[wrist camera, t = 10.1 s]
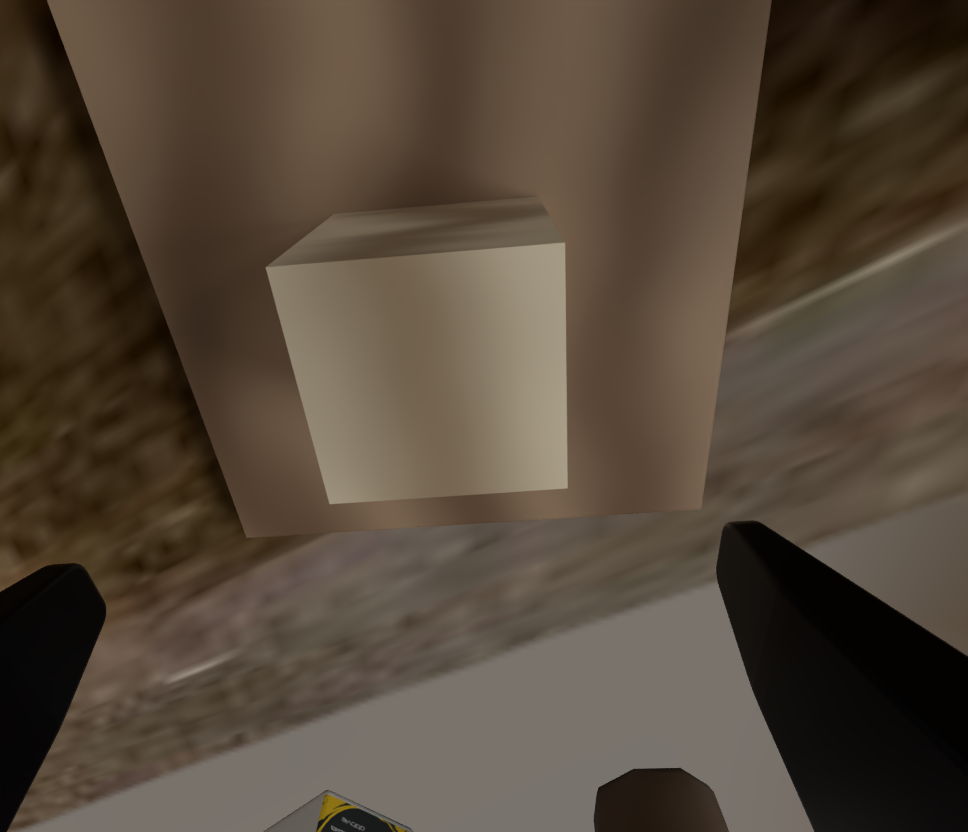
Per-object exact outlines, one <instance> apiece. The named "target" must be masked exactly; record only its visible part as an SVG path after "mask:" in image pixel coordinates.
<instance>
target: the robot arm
mask: <svg viewBox="0 0 968 832" xmlns="http://www.w3.org/2000/svg"><path fill="white" fill-rule="evenodd" d="M716 573H717V580H718V584H719V588H720V591H721V594H722V597H723V600H724V604H725V607H726V610H727V613H728V616H729V619H730V622H731V625H732V628H733V632H734V635H735V638H736V641H737V644H738V648H739V650H740V653H741V657H742V660H743V663H744V666H745V669H746V672H747V676H748V678H749V681H750V684H751V687H752V690H753V693H754V695H755V697H756V700H757V702H758V705H759V707H760V710H761V712H762V714H763V716H764V718H765V721H766V723H767V725H768V728H769V730H770V732H771V734H772V736H773V739H774V741H775V743H776V745H777V748H778V750H779V753H780V754H781V757H782V759H783V762H784V764H785V766H786V768H787V771H788V773H789V775H790V777H791V779H792V782H793V784H794V787H795V789H796V791H797V793H798V796H799V798H800V800H801V802H802V805H803V807H804V809H805V811H806V814H807V816H808V818H809V820H810V823H811V825H812V827H813V830H814V832H968V656H967V655H965V654H963V653H962V652H961V651H959V650H957V649H956V648H954V647H953V646H951V645H950V644H948V643H947V642H945V641H943V640H942V639H940V638H939V637H937V636H936V635H934V634H933V633H931V632H930V631H928V630H926V629H925V628H923V627H922V626H920V625H918V624H917V623H915V622H914V621H912V620H911V619H909V618H908V617H906V616H905V615H903V614H902V613H900V612H899V611H897V610H895V609H894V608H892V607H891V606H889V605H888V604H886V603H885V602H883V601H881V600H880V599H878V598H877V597H875V596H874V595H872V594H871V593H869V592H867V591H866V590H864V589H863V588H861V587H860V586H858V585H856V584H855V583H853V582H852V581H850V580H849V579H847V578H846V577H844V576H843V575H841V574H840V573H838V572H836V571H835V570H833V569H832V568H830V567H829V566H827V565H826V564H824V563H822V562H821V561H819V560H818V559H816V558H815V557H813V556H812V555H810V554H808V553H807V552H805V551H804V550H802V549H801V548H799V547H798V546H796V545H795V544H793V543H792V542H790V541H788V540H787V539H785V538H784V537H782V536H781V535H779V534H778V533H776V532H774V531H773V530H771V529H770V528H768V527H767V526H765V525H764V524H762V523H760V522H758V521H752V520H751V521H735V522H729V523H727V524H725V526H724V528H723V531H722V536H721V542H720V548H719V554H718V560H717V567H716ZM105 618H106V605H105V602H104V600H103V598H102V596H101V595H100V593H99V591H98V589H97V588H96V586H95V584H94V582H93V581H92V579H91V577H90V575H89V574H88V572H87V570H86V569H85V568H84V567H83V566H81V565H80V564H76V563H69V564H53V565H48V566H45V567H43V568H41V569H39V570H38V571H36V572H34V573H32V574H31V575H29V576H27V577H25V578H24V579H22V580H20V581H18V582H17V583H15V584H13V585H12V586H10V587H8V588H6V589H5V590H3V591H1V592H0V832H7V831H8V829H9V827H10V825H11V823H12V821H13V819H14V817H15V815H16V813H17V811H18V809H19V807H20V806H21V804H22V802H23V800H24V798H25V796H26V794H27V792H28V790H29V788H30V786H31V784H32V782H33V780H34V779H35V777H36V775H37V773H38V771H39V769H40V767H41V765H42V763H43V761H44V759H45V757H46V755H47V754H48V752H49V750H50V748H51V746H52V744H53V742H54V740H55V738H56V736H57V734H58V732H59V730H60V728H61V725H62V723H63V721H64V718H65V716H66V714H67V712H68V709H69V707H70V704H71V702H72V700H73V697H74V695H75V692H76V690H77V687H78V685H79V683H80V680H81V678H82V675H83V673H84V670H85V668H86V665H87V663H88V661H89V658H90V656H91V653H92V651H93V648H94V646H95V644H96V641H97V639H98V636H99V634H100V631H101V629H102V627H103V624H104V621H105Z"/></svg>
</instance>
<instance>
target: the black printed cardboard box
mask: <svg viewBox="0 0 968 832" xmlns="http://www.w3.org/2000/svg"><path fill="white" fill-rule="evenodd" d="M264 832H413V831H412V830H411V828H409V827H407V826H404V825H402V824H400V823H398V822H396V821H394V820H391V819H390V818H387V817H385V816H383V815H381V814H379V813H377V812H375V811H372V810H370V809H368V808H366V807H364V806H362V805H359V804H357V803H355V802H353V801H351V800H349V799H347V798H345V797H342V796H340V795H338V794H336V793H334V792H332V791H329V790H326V791H325V792H323V793H321V794H320V795H318V796H317V797H315V798H314V799H312V800H311V801H309V802H308V803H306V804H305V805H303V806H302V807H300V808H299V809H297V810H296V811H295V812H293V813H291V814H290V815H288V816H287V817H285V818H283V819H282V820H281V821H279V822H278V823H276V824H274V825H273V826H271V827H270V828H268V829H267V830H265V831H264Z"/></svg>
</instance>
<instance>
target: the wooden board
mask: <svg viewBox="0 0 968 832" xmlns="http://www.w3.org/2000/svg"><path fill="white" fill-rule="evenodd" d="M771 1H772V0H47V2H48V4H49V7H50V10H51V12H52V15H53V18H54V20H55V23H56V26H57V29H58V31H59V34H60V37H61V39H62V42H63V45H64V47H65V50H66V53H67V55H68V58H69V61H70V64H71V66H72V69H73V72H74V74H75V77H76V80H77V82H78V85H79V88H80V90H81V93H82V96H83V99H84V101H85V104H86V107H87V109H88V112H89V115H90V117H91V120H92V123H93V125H94V128H95V131H96V133H97V136H98V139H99V142H100V144H101V147H102V150H103V152H104V155H105V158H106V160H107V163H108V166H109V168H110V171H111V174H112V177H113V179H114V182H115V185H116V187H117V190H118V193H119V195H120V198H121V201H122V203H123V206H124V209H125V211H126V214H127V217H128V220H129V222H130V225H131V228H132V230H133V233H134V236H135V238H136V241H137V244H138V246H139V249H140V252H141V255H142V257H143V260H144V263H145V265H146V268H147V271H148V273H149V276H150V279H151V281H152V284H153V287H154V289H155V292H156V295H157V298H158V300H159V303H160V306H161V308H162V311H163V314H164V316H165V319H166V322H167V324H168V327H169V330H170V333H171V335H172V338H173V341H174V343H175V346H176V349H177V351H178V354H179V357H180V359H181V362H182V365H183V367H184V370H185V373H186V376H187V378H188V381H189V384H190V386H191V389H192V392H193V394H194V397H195V400H196V402H197V405H198V408H199V411H200V413H201V416H202V419H203V421H204V424H205V427H206V429H207V432H208V435H209V437H210V440H211V443H212V446H213V448H214V451H215V454H216V456H217V459H218V462H219V464H220V467H221V470H222V472H223V475H224V478H225V480H226V483H227V486H228V489H229V491H230V494H231V497H232V499H233V502H234V505H235V507H236V510H237V513H238V515H239V518H240V521H241V524H242V526H243V529H244V532H245V534H246V537H247V538H254V537H269V536H285V535H301V534H317V533H333V532H349V531H364V530H380V529H396V528H412V527H428V526H443V525H459V524H475V523H491V522H507V521H522V520H538V519H554V518H570V517H586V516H602V515H617V514H633V513H649V512H665V511H681V510H696V509H701V507H702V500H703V492H704V485H705V478H706V471H707V463H708V456H709V449H710V442H711V435H712V427H713V420H714V413H715V406H716V398H717V391H718V384H719V377H720V370H721V362H722V355H723V348H724V341H725V333H726V326H727V319H728V312H729V304H730V297H731V290H732V283H733V276H734V268H735V261H736V254H737V247H738V239H739V232H740V225H741V218H742V211H743V203H744V196H745V189H746V182H747V174H748V167H749V160H750V153H751V146H752V138H753V131H754V124H755V117H756V109H757V102H758V95H759V88H760V80H761V73H762V66H763V59H764V52H765V44H766V37H767V30H768V23H769V15H770V8H771ZM538 196H539V198H540V200H541V201H542V203H543V205H544V207H545V208H546V210H547V212H548V214H549V215H550V217H551V219H552V221H553V222H554V224H555V226H556V227H557V229H558V231H559V233H560V234H561V236H562V238H563V240H564V241H565V277H566V376H567V475H568V488H566V489H551V490H536V491H521V492H506V493H491V494H476V495H461V496H446V497H431V498H416V499H401V500H386V501H371V502H356V503H341V504H329V500H328V497H327V493H326V489H325V486H324V482H323V478H322V474H321V471H320V467H319V463H318V460H317V456H316V452H315V449H314V445H313V441H312V437H311V434H310V430H309V426H308V423H307V419H306V415H305V412H304V408H303V404H302V400H301V397H300V393H299V389H298V386H297V382H296V378H295V374H294V371H293V367H292V363H291V360H290V356H289V352H288V349H287V345H286V341H285V337H284V334H283V330H282V326H281V323H280V319H279V315H278V312H277V308H276V304H275V300H274V297H273V293H272V289H271V286H270V282H269V278H268V275H267V271H266V267H267V266H268V265H269V264H270V263H272V262H273V261H274V260H276V259H277V258H278V257H279V256H281V255H282V254H283V253H285V252H286V251H287V250H288V249H290V248H291V247H292V246H294V245H295V244H296V243H297V242H299V241H300V240H301V239H303V238H304V237H305V236H306V235H308V234H309V233H310V232H312V231H313V230H314V229H315V228H317V227H318V226H319V225H320V224H322V223H323V222H324V221H326V220H327V219H328V218H329V217H331V216H332V215H333V214H340V213H351V212H363V211H375V210H386V209H398V208H410V207H421V206H433V205H445V204H456V203H468V202H480V201H491V200H503V199H515V198H526V197H538Z"/></svg>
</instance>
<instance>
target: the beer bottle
mask: <svg viewBox="0 0 968 832" xmlns="http://www.w3.org/2000/svg"><path fill="white" fill-rule="evenodd" d="M594 827H595V832H729V831H728V828H727V825H726V822H725V820H724V817H723V815H722V812H721V809H720V807H719V804H718V802H717V799H716V797H715V794H714V792H713V791H712V790H711V789H710V787H709V786H708V785H706V784H705V783H703V782H702V781H700V780H698V779H697V778H695V777H694V776H692V775H691V774H689V773H687V772H686V771H684V770H683V769H681V768H658V769H657V768H656V769H633V770H631V771H629V772H627V773H625V774H623V775H621V776H620V777H618V778H616V779H614V780H612V781H610V782H608V783H606V784H605V785H603V786H601V787H599V788H598V792H597V797H596V805H595V813H594Z"/></svg>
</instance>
